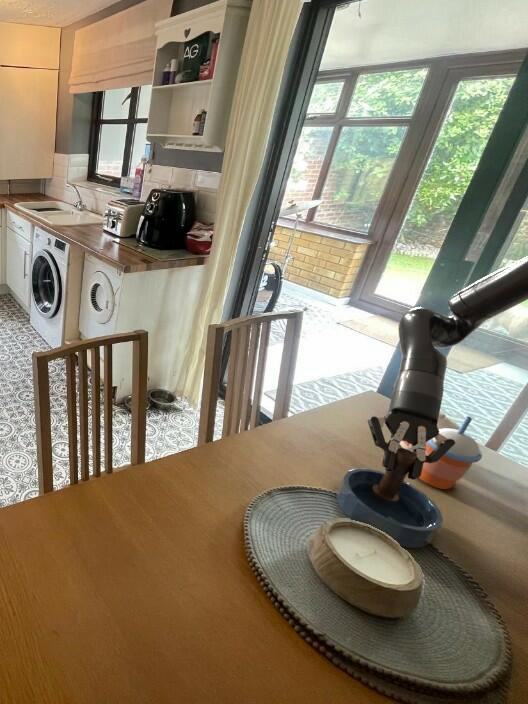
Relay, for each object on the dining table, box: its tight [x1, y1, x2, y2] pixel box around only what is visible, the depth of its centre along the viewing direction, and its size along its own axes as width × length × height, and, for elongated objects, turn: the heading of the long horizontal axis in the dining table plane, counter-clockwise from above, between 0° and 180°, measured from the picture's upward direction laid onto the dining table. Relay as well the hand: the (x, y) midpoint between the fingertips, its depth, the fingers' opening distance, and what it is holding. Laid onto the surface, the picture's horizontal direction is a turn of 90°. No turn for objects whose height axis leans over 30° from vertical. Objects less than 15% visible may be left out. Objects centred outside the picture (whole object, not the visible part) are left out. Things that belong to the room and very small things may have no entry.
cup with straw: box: [419, 416, 483, 490], centre depth 92 cm, size 9×9×18 cm
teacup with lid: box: [399, 411, 461, 452], centre depth 101 cm, size 12×9×12 cm
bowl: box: [336, 468, 444, 548], centre depth 86 cm, size 16×16×6 cm
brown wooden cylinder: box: [371, 447, 417, 504], centre depth 85 cm, size 4×4×12 cm
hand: (400, 474), depth 83 cm, fingers closed on brown wooden cylinder, 3 cm apart
